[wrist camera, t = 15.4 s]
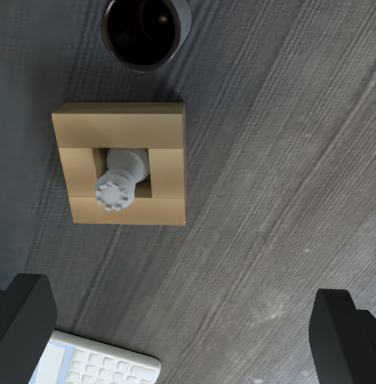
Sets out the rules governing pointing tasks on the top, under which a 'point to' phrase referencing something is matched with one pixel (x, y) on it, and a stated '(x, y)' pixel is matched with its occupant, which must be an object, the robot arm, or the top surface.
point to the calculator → (92, 363)
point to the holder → (125, 138)
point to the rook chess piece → (122, 177)
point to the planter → (144, 31)
